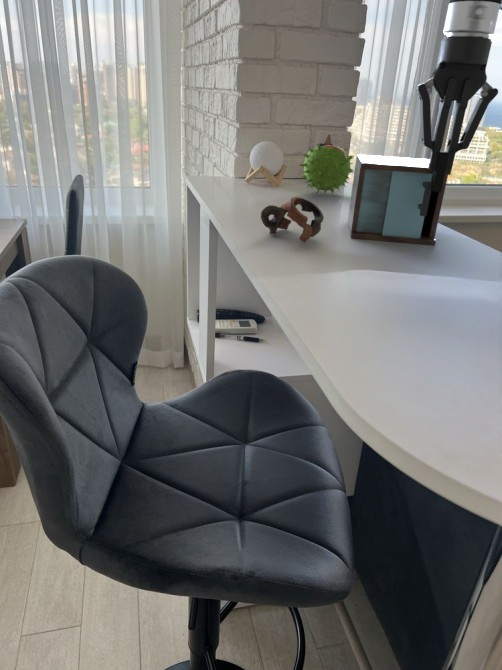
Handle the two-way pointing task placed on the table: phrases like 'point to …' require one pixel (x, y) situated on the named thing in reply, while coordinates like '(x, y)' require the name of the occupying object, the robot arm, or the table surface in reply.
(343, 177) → the chestnut
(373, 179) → the display cabinet
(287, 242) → the table surface
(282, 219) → the two-tone looped frame
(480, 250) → the table surface
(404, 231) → the glass door
